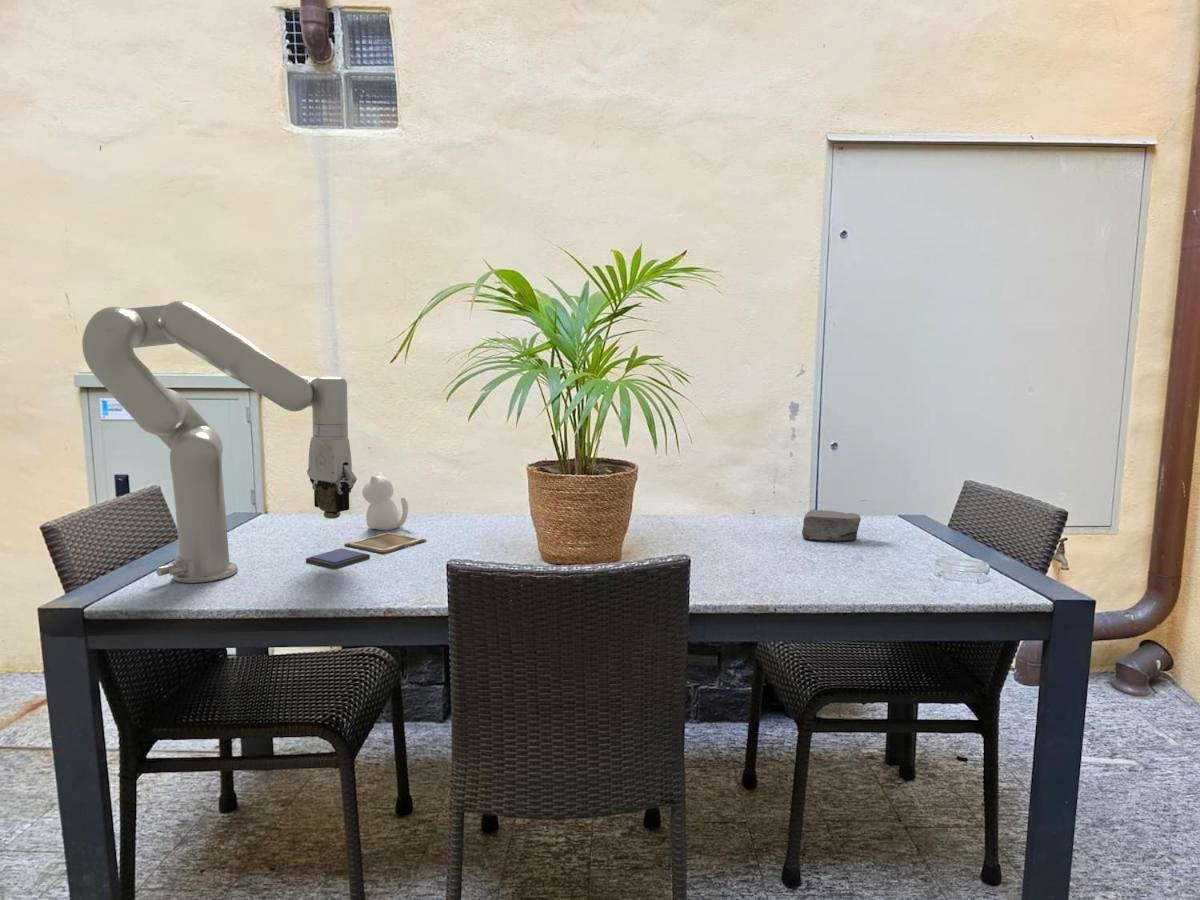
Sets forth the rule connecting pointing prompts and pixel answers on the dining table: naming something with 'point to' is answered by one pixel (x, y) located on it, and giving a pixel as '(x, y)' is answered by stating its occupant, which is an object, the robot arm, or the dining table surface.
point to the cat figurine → (383, 504)
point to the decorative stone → (830, 526)
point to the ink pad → (337, 558)
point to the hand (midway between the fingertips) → (331, 507)
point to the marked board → (385, 542)
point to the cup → (327, 499)
